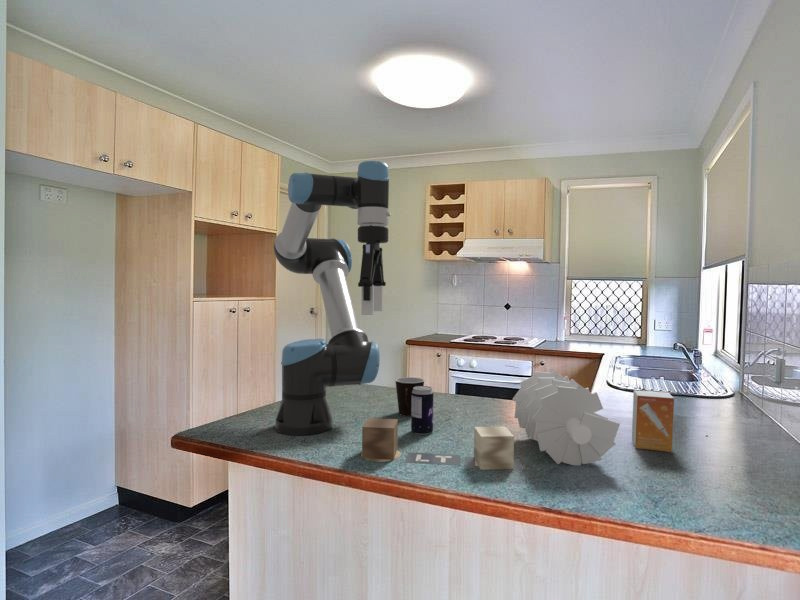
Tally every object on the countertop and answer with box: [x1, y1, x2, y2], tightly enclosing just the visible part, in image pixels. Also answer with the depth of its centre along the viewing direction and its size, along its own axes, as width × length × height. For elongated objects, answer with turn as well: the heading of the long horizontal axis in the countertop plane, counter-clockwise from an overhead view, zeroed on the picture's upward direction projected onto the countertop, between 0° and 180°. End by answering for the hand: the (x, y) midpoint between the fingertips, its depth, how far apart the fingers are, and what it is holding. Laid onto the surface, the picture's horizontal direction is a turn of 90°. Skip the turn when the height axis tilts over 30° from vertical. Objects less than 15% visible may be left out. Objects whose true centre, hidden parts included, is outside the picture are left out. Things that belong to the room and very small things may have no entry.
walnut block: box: [361, 417, 399, 461], centre depth 114 cm, size 7×7×7 cm
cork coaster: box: [360, 449, 402, 463], centre depth 114 cm, size 9×9×1 cm
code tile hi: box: [464, 456, 524, 472], centre depth 109 cm, size 12×6×1 cm, turn 83°
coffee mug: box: [395, 376, 425, 417], centre depth 149 cm, size 12×9×10 cm
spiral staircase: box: [512, 369, 621, 466], centre depth 118 cm, size 18×18×25 cm
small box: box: [631, 389, 675, 453], centre depth 122 cm, size 8×6×13 cm
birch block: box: [473, 426, 515, 471], centre depth 109 cm, size 7×7×7 cm
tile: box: [404, 451, 462, 467], centre depth 112 cm, size 12×6×1 cm, turn 83°
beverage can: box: [410, 385, 434, 436], centre depth 131 cm, size 6×6×12 cm
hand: (372, 313), depth 124 cm, fingers open, 13 cm apart
